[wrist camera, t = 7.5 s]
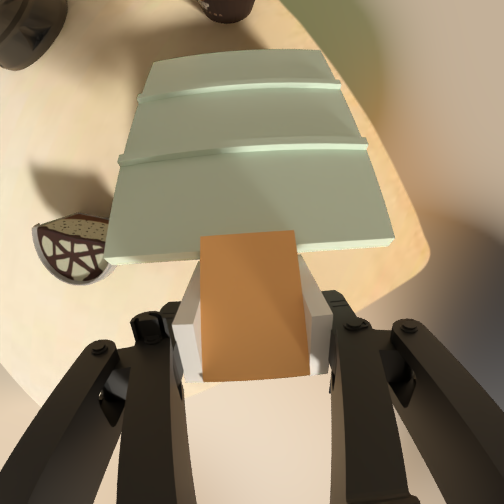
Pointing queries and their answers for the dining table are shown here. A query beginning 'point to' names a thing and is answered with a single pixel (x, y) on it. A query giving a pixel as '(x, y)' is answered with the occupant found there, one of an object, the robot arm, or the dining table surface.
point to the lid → (245, 195)
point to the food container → (74, 248)
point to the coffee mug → (226, 10)
